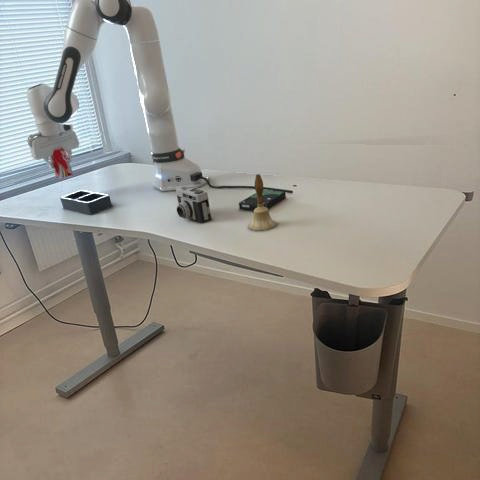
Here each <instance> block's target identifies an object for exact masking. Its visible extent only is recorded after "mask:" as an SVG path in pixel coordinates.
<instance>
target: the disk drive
mask: <svg viewBox="0 0 480 480" xmlns="http://www.w3.org/2000/svg"><path fill="white" fill-rule="evenodd" d="M262 197H263V206H264V207H266V208H268V210H270V209H272V208H273V207H275V206H276V205H278V204H280V203H281V202H282V201H284V200H286V197H287V194H286V192H285V191H274V190H265V189H263V194H262ZM257 207H258V198H257V193H256V192H254V193H253V194H252V195H250V196H248V197H247V198H245V199H243V200H241V201H240V202H238V208H239V210H241V211H247V212H254V210H255V209H256V208H257Z"/></svg>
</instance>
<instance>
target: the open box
mask: <svg viewBox="0 0 480 480" xmlns="http://www.w3.org/2000/svg"><path fill="white" fill-rule="evenodd" d="M110 196H111V195H110V194H106V193H100V192H94V191H90V190H84V189H80V190H77V191H74V192H72V193H68V194H66V195H63V196H61V197H59V199H60V202H61V206H62V208H63V210H67V211H72V212H76V213H80V214H85V215H89V216H92V215H95V214H97V213H100V212H102V211H104V210H107V209H109V208H112V207H113V204H112V200H111V197H110Z"/></svg>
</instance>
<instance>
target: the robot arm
mask: <svg viewBox="0 0 480 480" xmlns="http://www.w3.org/2000/svg"><path fill="white" fill-rule="evenodd" d="M105 23H107V24H111V25H117V26H122V27H124V29H125V32H126V34H127V38H128V43H129V48H130V53H131V58H132V63H133V67H134V74H135V78H136V84H137V89H138V93H139V98H140V103H141V107H142V109H143V115H144V119H145V125H146V129H147V134H148V139H149V144H150V148H151V152H150V154H151V159H152V163H153V166H154V173H155V185H154V186H155V188H156V189H158V190H160V191H161V192H170V191H171V192H172V191H176V188H179V187H182V186H190V187H194V188H196V189H199V188H200V187H202V186H205V184H207V185H208V186H209V187H210V188H212V189H252V190H253V189H255V185H219V186H217V185H216V186H215V185H213V184H211V183H210V181H209V176H208V175H203V172H202V169H201V167H200V166H199V165H198V164H197V163H195V162H193V161H192V160H191V159H189V158H187V157H185V152H186V149H185V148H184V149H182V148H180V147H179V140H178V135H177V130H176V124H175V120H174V115H173V110H172V109H173V108H172V104H171V96H170V90H169V85H168V80H167V74H166V69H165V64H164V59H163V52H162V47H161V42H160V37H159V32H158V29H157V24H156V21H155V18H154V15H153V13H152V11H151V10H150V9H149V8H147V7H144V6H133V5H132V3H131V0H74V2H73V5H72V7H71V9H70V12H69V15H68V18H67V21H66V25H65V30H64V36H63V42H62V50H61V57H60V62H59V66H58V69H57V72H56V73H57V74H56V76H55V80H54V84H53V87H52V86H49V85H47V84H46V83H42V82H41V83H39V84H36V85H34V86H31V87H29V88H28V89H27V91H26V98H27V102H28V106H29V109H30V112H31V114H32V115H33V118H34V123H35V127H36V129H37V130H36V131H37V132H35V133H33V134H29V136H28V137H27V139H26V141H27V144H28V146H29V151H30V155H31V157H32V159H34V160H35V161H40V160H43V161H44V162H45V163H46V164H47V165H48V168H49V169H53V168H54V164H53V163H51V161H50V158H49V156H52V155H53V152H54V150H53V149H58V148H61V147H63V149H64V150H65V151H66V153H67V156H68V159H69V162H70V163H73V159H72V154H73V150H74V149H78V148H79V147H80V141H79V139H78V136H77V133H76V132H75V130H73V129H74V127H73V124H71V123H66V122H68V121H69V120H70V119H71V118H72V117H73V116H74V115H76V113H77V112H78V111H79V108H80V101H79V98H78V97H77V96H76V94H75V93H73V91H74V86H75V83H76V80H77V76H78V74H79V71H80V70H81V68H82V67H83V66H84V65H85V64H86V62H88V61H89V60H90V59H91V57H92V55H93V53H94V51H95V48H96V46H97V43H98V38H99V34H100V31H101V28H102V26H103V25H104V24H105ZM263 190H267V191H273V190H274V191H285V193H289V194H293V193H294V190H291V189H290V190H289V189H283V188H277V187H268V186H267V187H266V186H263Z"/></svg>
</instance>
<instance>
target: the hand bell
mask: <svg viewBox="0 0 480 480" xmlns="http://www.w3.org/2000/svg"><path fill="white" fill-rule="evenodd" d="M254 186H255V193H257V198H258V207H257V208H256V209H255V210H254V211H253V218H252V221H251V223H250V224H249V229H250V230H253V231H257V232H258V231H268V230H270V229H271V230H272V229H273V228H275V227H276V225H277V223H276V221H274V220H273V219H272V216H271V215H270V211H269V209H268V208H266V207H264V206H263V197H262V194H263V190H264V189H263V187H264V181H263V178H262V176H261V174H260V173H258V174H255V179H254Z"/></svg>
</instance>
